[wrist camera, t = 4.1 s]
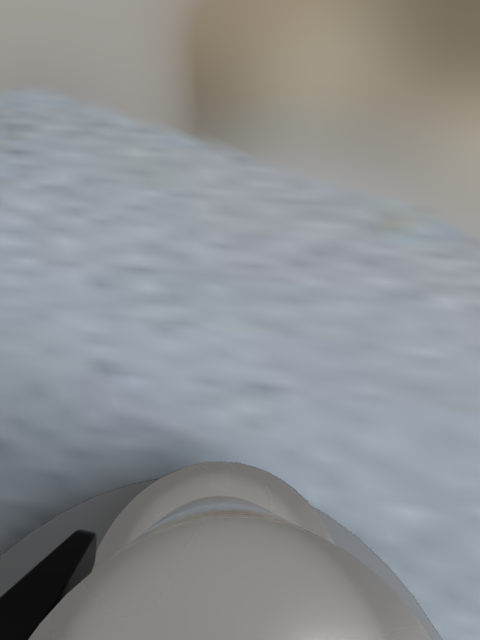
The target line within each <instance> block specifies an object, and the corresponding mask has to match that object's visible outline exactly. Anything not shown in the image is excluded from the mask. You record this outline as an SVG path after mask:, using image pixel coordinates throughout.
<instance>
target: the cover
mask: <svg viewBox="0 0 480 640" xmlns="http://www.w3.org/2000/svg"><path fill="white" fill-rule="evenodd" d="M28 640H432V639H431V637H430V636H429V634H428V633H427V631H426V630H425V628H424V627H423V625H422V624H421V622H420V621H419V620H418V619H417V617H416V616H415V615H414V614H413V613H412V611H411V610H410V609H409V608H408V607H407V605H406V604H405V603H404V602H403V601H402V599H401V598H400V597H399V596H398V595H397V593H396V592H394V591H393V590H392V589H391V588H390V587H389V586H388V585H387V584H386V583H385V582H384V581H383V580H382V579H381V578H380V577H379V576H378V575H377V574H376V573H375V572H374V571H372V570H371V569H370V568H368V567H367V566H366V565H364V564H363V563H362V562H360V561H359V560H358V559H356V558H355V557H354V556H352V555H351V554H350V553H348V552H347V551H345V550H343V549H342V548H340V547H338V546H336V545H335V543H334V541H333V539H332V537H331V535H330V533H329V530H328V529H327V527H326V526H325V524H324V523H323V521H322V519H321V518H320V516H319V515H318V513H317V512H316V511H315V510H314V509H313V507H312V506H311V505H310V504H309V503H308V501H307V500H306V499H305V498H304V497H302V496H301V495H300V494H299V493H298V492H297V491H296V490H295V489H294V488H292V487H291V486H290V485H288V484H287V483H286V482H284V481H283V480H281V479H280V478H278V477H276V476H274V475H272V474H271V473H269V472H266V471H264V470H261V469H259V468H256V467H253V466H249V465H245V464H241V463H234V462H206V463H201V464H196V465H191V466H188V467H185V468H182V469H179V470H176V471H174V472H172V473H170V474H168V475H166V476H164V477H162V478H160V479H159V480H157V481H156V482H154V483H153V484H151V485H149V486H148V487H147V488H145V489H144V490H143V491H142V492H141V493H140V494H138V495H137V496H136V497H135V498H134V499H133V500H132V501H131V502H130V503H129V504H128V505H127V506H126V507H125V508H124V509H123V510H122V511H121V513H120V514H119V515H118V517H117V518H116V519H115V521H114V522H113V523H112V525H111V526H110V528H109V529H108V531H107V533H106V534H105V536H104V538H103V540H102V541H101V543H100V545H99V547H98V549H97V552H96V558H95V563H94V566H93V569H92V572H91V573H90V574H89V575H88V576H87V577H86V578H84V579H83V580H82V581H81V582H80V583H79V584H78V585H76V586H75V587H74V588H73V589H72V590H71V591H70V592H69V593H67V594H66V595H65V597H64V598H63V599H62V600H61V601H60V602H59V603H58V604H57V605H56V606H55V608H54V609H53V610H52V611H51V612H50V613H49V614H48V615H47V616H46V617H45V619H44V620H43V621H42V622H41V623H40V624H39V626H38V627H37V628H36V630H35V631H34V632H33V634H32V635H31V636H30V638H29V639H28Z"/></svg>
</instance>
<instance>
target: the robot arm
mask: <svg viewBox="0 0 480 640" xmlns="http://www.w3.org/2000/svg"><path fill="white" fill-rule="evenodd" d="M96 544H97V534H96V533H95V532H93V531H88V530H84V529H78V530H76V531H75V532H73V533H72V534H71V535H70V536H69V537H68V538H67V539H65V540H64V541H63V542H62V543H61V544H60V545H59V546H57V547H56V548H55V549H54V550H53V551H52V552H51V553H49V554H48V555H47V556H46V557H45V558H44V559H43V560H42V561H40V562H39V563H38V564H37V565H36V566H35V567H34V568H32V569H31V570H30V571H29V572H28V573H27V574H26V575H25V576H23V577H22V578H21V579H20V580H19V581H18V582H17V583H15V584H14V585H13V586H12V587H11V588H10V589H9V590H7V591H6V592H5V593H4V594H3V595H2V596H1V597H0V640H28V639H29V638H30V636H31V635H32V634H33V632H34V631H35V630H36V628H37V627H38V626H39V624H40V623H41V622H42V621H43V620H44V619H45V617H46V616H47V615H48V614H49V613H50V612H51V611H52V610H53V609H54V608H55V606H56V605H57V604H58V603H59V602H60V601H61V600H62V599H63V598H64V597H65V595H66V594H67V593H69V592H70V591H71V590H72V589H73V588H74V587H75V586H76V585H78V584H79V583H80V582H81V581H82V580H83V579H84V578H86V577H87V576H88V575H89V574H90V573H91V572H92V569H93V566H94V563H95V558H96Z"/></svg>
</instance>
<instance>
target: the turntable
mask: <svg viewBox="0 0 480 640" xmlns="http://www.w3.org/2000/svg"><path fill="white" fill-rule="evenodd" d="M157 480H159V479H155V480H150V481H144V482H139V483H134V484H130V485H127V486H124V487H121V488H118V489H115V490H112V491H109V492H106V493H103V494H100V495H97V496H95V497H93V498H91V499H89V500H87V501H85V502H83V503H81V504H78V505H76V506H74V507H72V508H70V509H68V510H66V511H64V512H62V513H60V514H59V515H57V516H56V517H54V518H52V519H51V520H49V521H48V522H46V523H45V524H43V525H41V526H40V527H38V528H37V529H35V530H34V531H32V532H30V533H29V534H27V535H26V536H25V537H24V538H22V539H21V540H20V541H19V542H17V543H16V544H15V545H14V546H12V547H11V548H10V549H9V550H7V551H6V552H5V553H4V554H2V555H1V556H0V597H1V596H2V595H3V594H4V593H5V592H6V591H7V590H9V589H10V588H11V587H12V586H13V585H14V584H15V583H17V582H18V581H19V580H20V579H21V578H22V577H23V576H25V575H26V574H27V573H28V572H29V571H30V570H31V569H32V568H34V567H35V566H36V565H37V564H38V563H39V562H40V561H42V560H43V559H44V558H45V557H46V556H47V555H48V554H49V553H51V552H52V551H53V550H54V549H55V548H56V547H57V546H59V545H60V544H61V543H62V542H63V541H64V540H65V539H67V538H68V537H69V536H70V535H71V534H72V533H73V532H75V531H76V530H78V529H84V530H88V531H93V532H95V533H96V534H97V544H96V552H97V549H98V547H99V545H100V543H101V541H102V540H103V538H104V536H105V534H106V533H107V531H108V529H109V528H110V526H111V525H112V523H113V522H114V521H115V519H116V518H117V517H118V515H119V514H120V513H121V511H122V510H123V509H124V508H125V507H126V506H127V505H128V504H129V503H130V502H131V501H132V500H133V499H134V498H135V497H136V496H137V495H138V494H140V493H141V492H142V491H143V490H144V489H145V488H147V487H148V486H149V485H151V484H153V483H154V482H156V481H157ZM313 509H314V510H315V511H316V512H317V513H318V515H319V516H320V518H321V519H322V521H323V523H324V524H325V526H326V527H327V529H328V530H329V533H330V535H331V537H332V539H333V541H334V543H335V545H336V546H338V547H340V548H342V549H343V550H345V551H347V552H348V553H350V554H351V555H352V556H354V557H355V558H356V559H358V560H359V561H360V562H362V563H363V564H364V565H366V566H367V567H368V568H370V569H371V570H372V571H374V572H375V573H376V574H377V575H378V576H379V577H380V578H381V579H382V580H383V581H384V582H385V583H386V584H387V585H388V586H389V587H390V588H391V589H392V590H393V591H394V592H396V593H397V595H398V596H399V597H400V598H401V599H402V601H403V602H404V603H405V604H406V605H407V607H408V608H409V609H410V610H411V611H412V613H413V614H414V615H415V616H416V617H417V619H418V620H419V621H420V622H421V624H422V625H423V627H424V628H425V630H426V631H427V633H428V634H429V636H430V637H431V639H432V640H442V639H441V637H440V635H439V633H438V631H437V630H436V629H435V627H434V626H433V624H432V623H431V621H430V620H429V618H428V617H427V615H426V614H425V612H424V611H423V609H422V608H421V606H420V605H419V603H418V602H417V600H416V599H415V597H414V596H413V595H412V594H411V592H410V591H409V590H408V589H407V588H406V586H405V585H404V584H403V583H402V582H401V580H400V579H399V578H398V577H397V576H396V575H395V573H394V572H393V571H392V570H391V569H390V567H389V566H388V565H387V564H386V563H385V562H384V561H383V560H382V559H381V558H380V557H379V556H378V555H377V554H375V553H374V552H373V551H372V550H371V549H370V548H369V547H368V546H367V545H366V544H365V543H364V542H363V541H362V540H361V539H360V538H359V537H357V536H356V535H355V534H353V533H352V532H350V531H349V530H348V529H346V528H345V527H344V526H342V525H341V524H340V523H338V522H337V521H335V520H334V519H333V518H331V517H330V516H329V515H327V514H325V513H323V512H321V511H320V510H318V509H316V508H314V507H313Z"/></svg>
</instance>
